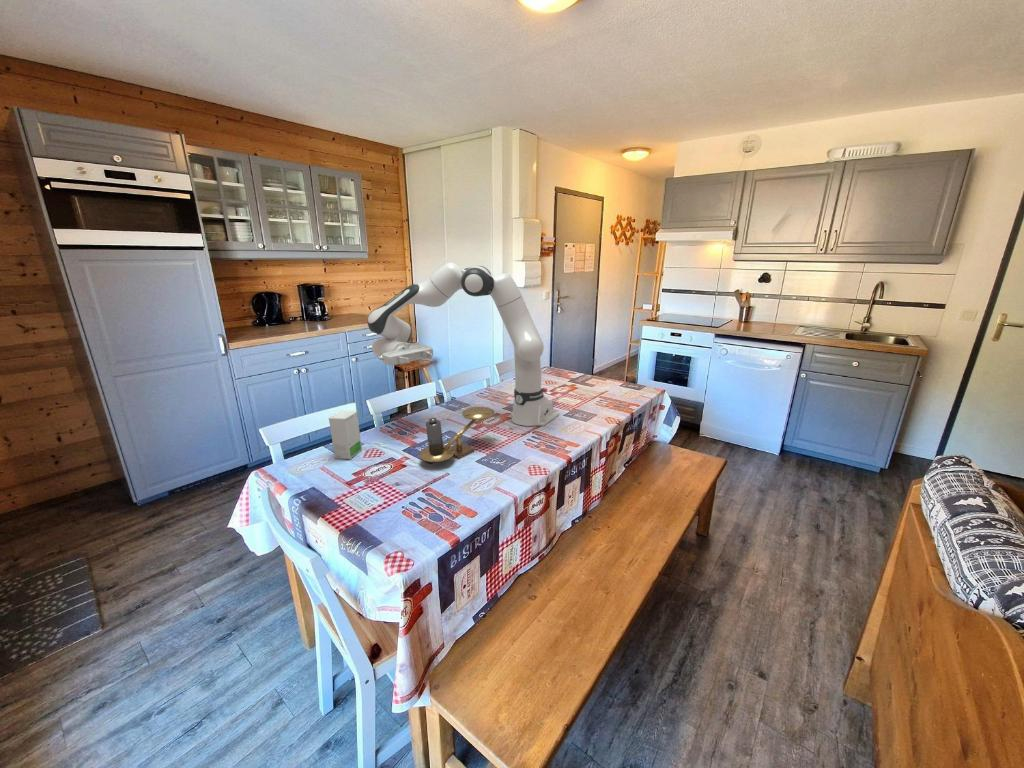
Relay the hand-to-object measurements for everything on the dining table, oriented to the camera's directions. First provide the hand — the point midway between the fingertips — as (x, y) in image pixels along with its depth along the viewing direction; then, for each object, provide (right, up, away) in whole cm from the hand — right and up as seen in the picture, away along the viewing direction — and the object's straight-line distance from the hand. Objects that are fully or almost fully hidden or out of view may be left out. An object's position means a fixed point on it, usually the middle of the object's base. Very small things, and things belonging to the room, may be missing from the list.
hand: (420, 358), depth 153 cm
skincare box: (-25, -35, -4) cm, 44 cm away
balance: (+15, -34, -3) cm, 38 cm away
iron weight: (+8, -33, -12) cm, 36 cm away
